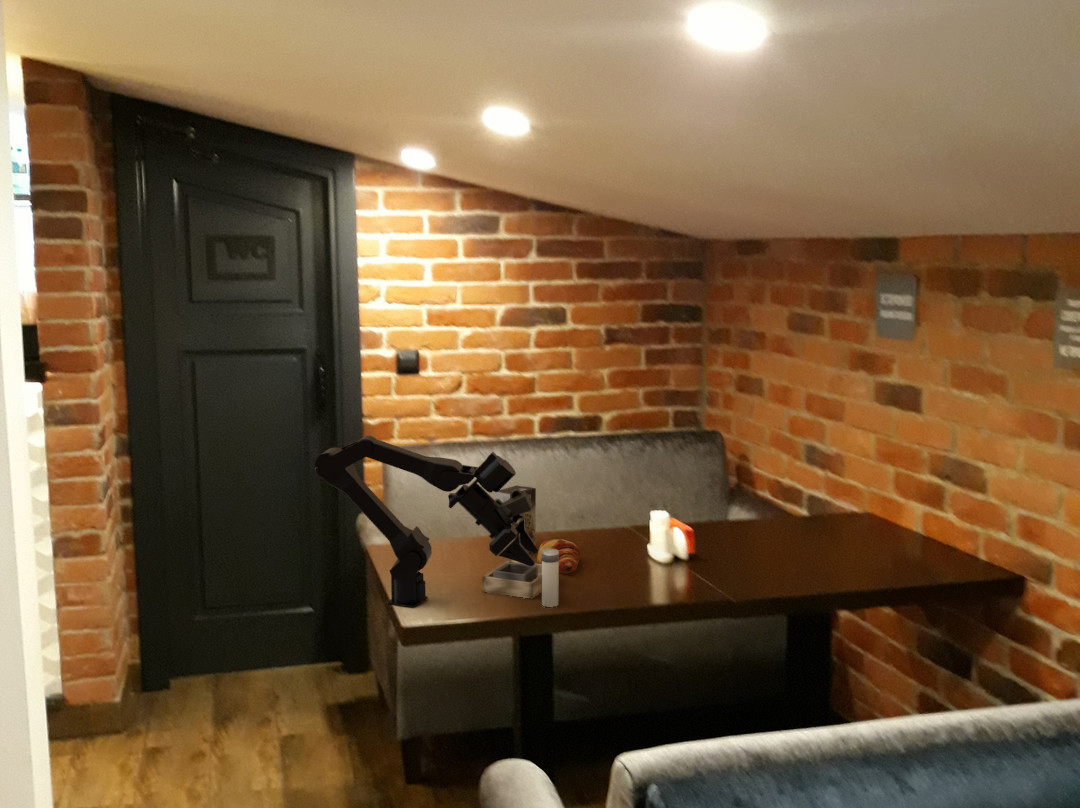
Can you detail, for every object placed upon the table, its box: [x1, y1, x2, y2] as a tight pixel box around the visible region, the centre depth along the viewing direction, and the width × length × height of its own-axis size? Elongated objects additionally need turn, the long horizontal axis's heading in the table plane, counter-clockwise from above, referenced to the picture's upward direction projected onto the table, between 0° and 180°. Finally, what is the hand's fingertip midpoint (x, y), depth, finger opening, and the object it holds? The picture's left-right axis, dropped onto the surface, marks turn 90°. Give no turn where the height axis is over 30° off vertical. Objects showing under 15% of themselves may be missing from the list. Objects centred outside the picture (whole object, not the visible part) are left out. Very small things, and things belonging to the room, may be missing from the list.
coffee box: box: [494, 484, 537, 556], centre depth 265 cm, size 9×6×16 cm
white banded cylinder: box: [541, 549, 559, 607], centre depth 227 cm, size 4×4×12 cm
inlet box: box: [481, 559, 542, 600], centre depth 240 cm, size 12×14×5 cm
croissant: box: [536, 539, 581, 575], centre depth 256 cm, size 21×10×8 cm, turn 15°
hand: (535, 558), depth 226 cm, fingers open, 9 cm apart
